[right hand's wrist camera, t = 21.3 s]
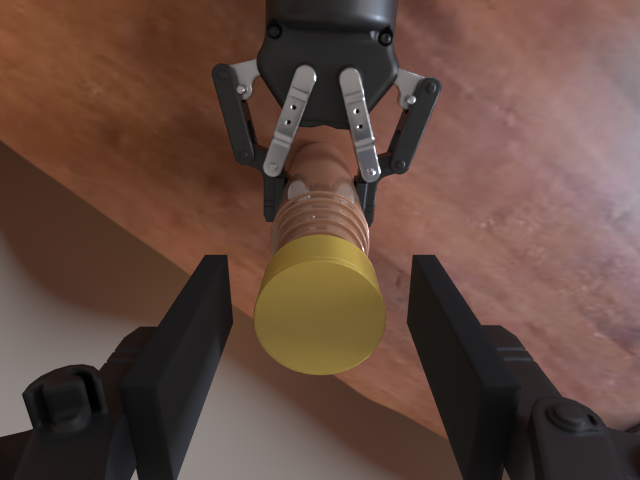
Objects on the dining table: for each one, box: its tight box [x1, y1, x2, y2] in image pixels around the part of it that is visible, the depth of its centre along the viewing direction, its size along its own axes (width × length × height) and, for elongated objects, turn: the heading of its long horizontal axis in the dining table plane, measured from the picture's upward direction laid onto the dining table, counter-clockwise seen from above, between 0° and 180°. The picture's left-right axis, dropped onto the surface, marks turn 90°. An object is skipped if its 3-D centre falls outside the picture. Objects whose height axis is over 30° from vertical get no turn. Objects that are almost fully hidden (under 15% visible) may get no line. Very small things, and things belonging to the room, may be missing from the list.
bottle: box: [270, 142, 369, 257], centre depth 24 cm, size 5×5×22 cm
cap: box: [254, 235, 386, 375], centre depth 14 cm, size 4×4×2 cm
